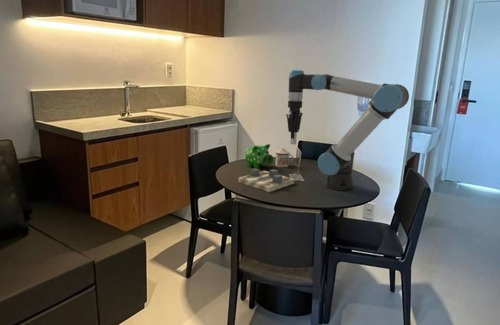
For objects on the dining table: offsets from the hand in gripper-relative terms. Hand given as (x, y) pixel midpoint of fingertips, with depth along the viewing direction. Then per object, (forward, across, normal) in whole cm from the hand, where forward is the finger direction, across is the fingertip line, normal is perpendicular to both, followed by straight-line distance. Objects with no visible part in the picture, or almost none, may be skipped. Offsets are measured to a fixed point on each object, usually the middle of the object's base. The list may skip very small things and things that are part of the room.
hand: (293, 144), depth 200 cm
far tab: (+19, +10, -19) cm, 28 cm away
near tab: (+19, +11, -3) cm, 22 cm away
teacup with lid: (+22, -28, -24) cm, 43 cm away
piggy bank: (+22, -13, -34) cm, 42 cm away
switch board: (+22, +10, -11) cm, 26 cm away
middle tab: (+19, +3, -10) cm, 22 cm away
